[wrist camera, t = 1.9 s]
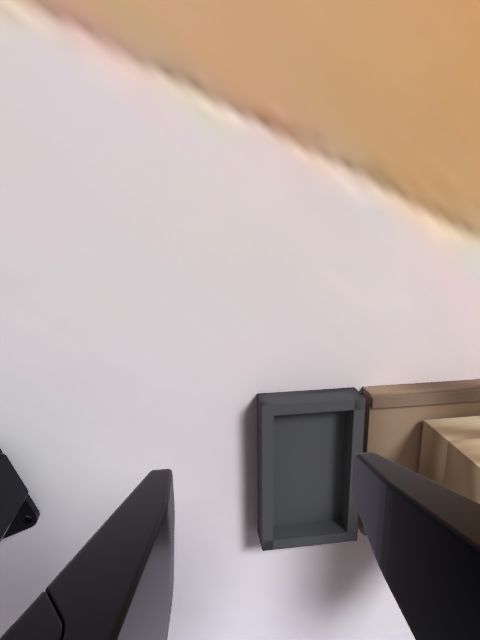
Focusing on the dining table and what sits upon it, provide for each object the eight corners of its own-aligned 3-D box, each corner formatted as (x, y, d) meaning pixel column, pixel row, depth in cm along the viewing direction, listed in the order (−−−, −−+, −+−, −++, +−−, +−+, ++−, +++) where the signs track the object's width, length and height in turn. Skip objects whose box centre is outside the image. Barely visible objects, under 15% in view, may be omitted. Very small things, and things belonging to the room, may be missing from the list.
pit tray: (258, 531, 24) (262, 550, 23) (257, 393, 22) (262, 405, 21) (347, 521, 25) (357, 540, 24) (354, 387, 23) (365, 398, 21)
